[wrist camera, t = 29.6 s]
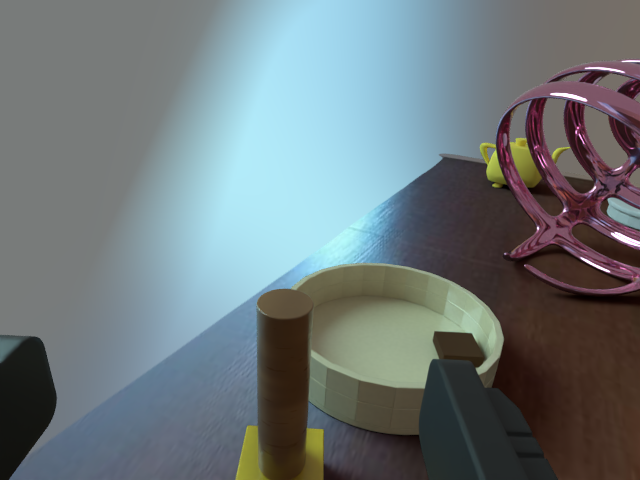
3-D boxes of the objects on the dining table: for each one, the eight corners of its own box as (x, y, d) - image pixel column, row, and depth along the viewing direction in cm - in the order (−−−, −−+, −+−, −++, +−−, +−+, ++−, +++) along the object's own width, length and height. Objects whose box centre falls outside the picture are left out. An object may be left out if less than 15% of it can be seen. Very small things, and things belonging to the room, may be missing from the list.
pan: (249, 403, 33) (248, 357, 31) (311, 286, 50) (312, 252, 49) (508, 462, 30) (524, 414, 28) (479, 314, 47) (488, 278, 45)
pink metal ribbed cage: (541, 143, 34) (788, -42, 36) (404, 153, 61) (549, 47, 63) (663, 386, 42) (864, 222, 43) (492, 299, 69) (621, 200, 70)
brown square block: (441, 366, 38) (444, 355, 37) (432, 341, 41) (434, 330, 40) (482, 368, 38) (484, 357, 37) (469, 343, 41) (471, 332, 40)
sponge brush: (232, 533, 24) (223, 330, 19) (248, 457, 29) (243, 275, 23) (320, 538, 24) (336, 336, 19) (321, 461, 29) (335, 280, 23)
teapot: (557, 187, 98) (571, 141, 94) (557, 199, 89) (571, 148, 85) (477, 174, 106) (486, 130, 101) (469, 184, 97) (478, 136, 92)
